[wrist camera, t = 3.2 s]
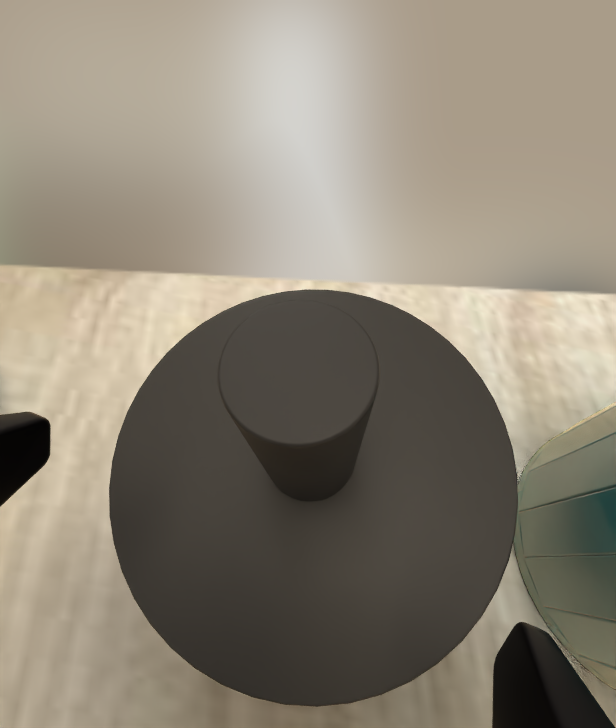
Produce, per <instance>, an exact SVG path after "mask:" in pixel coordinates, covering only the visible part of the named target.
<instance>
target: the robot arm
mask: <svg viewBox="0 0 616 728" xmlns="http://www.w3.org/2000/svg"><path fill="white" fill-rule="evenodd" d="M49 456H50V423H49V421H48V420H47V419H46V418H44V417H42V416H39V415H37V414H35V413H31V412H21V413H13V414H5V415H0V506H1V505H2V504H4V503H5V502H6V501H7V500H8V499H9V498H10V497H11V496H12V495H13V494H14V493H15V492H16V491H17V490H18V489H20V488H21V487H22V486H23V485H24V484H25V483H26V482H27V481H28V480H29V479H30V478H31V477H32V476H33V475H34V474H36V473H37V472H38V471H39V470H40V469H41V468H42V467H43V466H44V465H45V463H46V462H47V460H48V459H49ZM492 728H615V727H614V725H613V724H612V722H611V721H610V720H609V718H608V717H607V715H606V714H605V712H604V711H603V710H602V708H601V707H600V705H599V704H598V702H597V701H596V700H595V698H594V697H593V695H592V694H591V693H590V691H589V690H588V688H587V687H586V685H585V684H584V683H583V681H582V680H581V678H580V677H579V675H578V674H577V673H576V671H575V670H574V668H573V667H572V665H571V664H570V663H569V661H568V660H567V658H566V657H565V656H564V654H563V653H562V651H561V650H560V648H559V647H558V646H557V644H556V643H555V641H554V640H553V638H552V637H551V636H550V635H549V634H548V633H547V632H545V631H543V630H541V629H539V628H536V627H534V626H532V625H529V624H527V623H524V622H519V623H517V624H516V625H515V626H514V628H513V629H512V631H511V633H510V634H509V636H508V637H507V639H506V641H505V642H504V644H503V645H502V647H501V649H500V650H499V652H498V654H497V656H496V659H495V663H494V673H493V717H492Z"/></svg>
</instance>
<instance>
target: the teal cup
mask: <svg viewBox="0 0 616 728" xmlns="http://www.w3.org/2000/svg"><path fill="white" fill-rule="evenodd" d="M517 490H518V509H517V520H516V530H515V536H514V546H515V553H516V557H517V560H518V564H519V568H520V571H521V574H522V577H523V579H524V582H525V584H526V587H527V589H528V592H529V594H530V596H531V598H532V599H533V601H534V603H535V605H536V607H537V609H538V611H539V613H540V614H541V616H542V617H543V619H544V620H545V622H546V623H547V625H548V626H549V628H550V629H551V631H552V632H553V633H554V634H555V636H556V637H557V638H558V639H559V641H560V642H561V643H562V644H563V645H564V647H565V648H566V649H567V650H568V651H569V652H570V653H571V654H572V655H573V656H574V657H575V658H576V659H577V660H578V661H579V662H580V663H581V664H582V665H583V666H584V667H585V668H586V669H587V670H589V671H590V672H591V673H592V674H594V675H595V676H596V677H597V678H599V679H600V680H601V681H602V682H604V683H605V684H607V685H608V686H610V687H611V688H613V689H614V690H616V402H614V403H612V404H611V405H609V406H607V407H605V408H603V409H602V410H600V411H598V412H596V413H594V414H593V415H591V416H589V417H587V418H585V419H584V420H582V421H580V422H578V423H576V424H575V425H573V426H572V427H570V428H569V429H567V430H566V431H564V432H562V433H561V434H559V435H557V436H555V437H554V438H552V439H551V440H549V441H548V442H547V443H546V444H545V445H543V446H542V447H541V448H540V449H539V450H538V451H537V452H536V454H535V455H534V456H533V457H532V458H531V460H530V461H529V463H528V464H527V466H526V468H525V469H524V471H523V473H522V476H521V478H520V480H519V483H518V485H517Z"/></svg>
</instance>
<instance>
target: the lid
mask: <svg viewBox="0 0 616 728" xmlns="http://www.w3.org/2000/svg"><path fill="white" fill-rule="evenodd" d="M109 498H110V520H111V527H112V534H113V541H114V546H115V549H116V552H117V556H118V559H119V563H120V566H121V570H122V573H123V575H124V577H125V579H126V581H127V584H128V586H129V588H130V590H131V593H132V595H133V597H134V599H135V601H136V602H137V604H138V605H139V607H140V609H141V610H142V612H143V613H144V615H145V616H146V618H147V620H148V621H149V623H150V624H151V625H152V627H153V628H154V629H155V630H156V631H157V632H158V634H159V635H160V636H161V637H162V638H163V639H164V640H165V642H166V643H167V644H168V645H169V646H170V647H171V648H172V649H173V650H174V651H175V652H176V653H178V654H179V655H180V656H181V657H182V658H183V659H185V660H186V661H187V662H188V663H189V664H190V665H192V666H193V667H194V668H195V669H197V670H199V671H200V672H202V673H204V674H205V675H207V676H208V677H210V678H212V679H213V680H215V681H217V682H218V683H220V684H222V685H224V686H226V687H229V688H231V689H233V690H236V691H238V692H241V693H243V694H246V695H248V696H251V697H254V698H258V699H262V700H267V701H271V702H275V703H280V704H284V705H299V706H315V707H318V706H328V705H338V704H348V703H353V702H356V701H360V700H364V699H367V698H371V697H375V696H378V695H382V694H384V693H386V692H388V691H391V690H393V689H395V688H397V687H399V686H402V685H404V684H406V683H408V682H410V681H412V680H414V679H415V678H417V677H418V676H420V675H421V674H423V673H424V672H426V671H427V670H429V669H430V668H432V667H433V666H435V665H436V664H438V663H439V662H440V661H441V660H442V659H443V658H444V657H445V656H447V655H448V654H449V653H450V652H451V651H452V650H453V649H454V648H455V647H456V646H457V645H458V644H460V643H461V642H462V641H463V639H464V638H465V637H466V636H467V634H468V633H469V632H470V631H471V629H472V628H473V627H474V626H475V624H476V623H477V622H478V621H479V619H480V618H481V617H482V615H483V613H484V612H485V610H486V608H487V606H488V605H489V603H490V601H491V599H492V598H493V596H494V594H495V593H496V591H497V589H498V586H499V584H500V581H501V579H502V576H503V574H504V571H505V569H506V566H507V563H508V561H509V557H510V552H511V548H512V544H513V540H514V536H515V530H516V520H517V509H518V490H517V473H516V467H515V461H514V455H513V449H512V445H511V442H510V439H509V436H508V432H507V429H506V426H505V423H504V420H503V418H502V416H501V414H500V412H499V409H498V407H497V405H496V403H495V400H494V398H493V397H492V395H491V393H490V392H489V390H488V388H487V387H486V385H485V384H484V382H483V380H482V379H481V377H480V376H479V375H478V373H477V372H476V371H475V369H474V368H473V367H472V366H471V364H470V363H469V362H468V360H467V359H466V358H465V357H464V356H463V355H462V354H461V353H460V352H459V351H458V350H457V349H456V348H455V347H454V346H453V345H452V344H451V343H450V342H449V341H448V340H447V339H445V338H444V337H443V336H442V335H440V334H439V333H438V332H437V331H435V330H434V329H433V328H432V327H430V326H429V325H427V324H426V323H424V322H422V321H421V320H419V319H418V318H416V317H414V316H413V315H411V314H409V313H407V312H405V311H403V310H401V309H399V308H397V307H395V306H393V305H390V304H387V303H384V302H382V301H379V300H376V299H373V298H370V297H366V296H362V295H357V294H353V293H348V292H340V291H332V290H297V291H287V292H281V293H276V294H271V295H266V296H262V297H259V298H256V299H253V300H249V301H246V302H243V303H241V304H238V305H236V306H234V307H232V308H229V309H227V310H225V311H223V312H221V313H219V314H217V315H216V316H214V317H212V318H211V319H209V320H207V321H205V322H204V323H202V324H201V325H199V326H198V327H197V328H195V329H194V330H193V331H191V332H190V333H189V334H187V335H186V336H185V337H184V338H182V339H181V340H180V341H179V342H178V343H177V344H176V345H175V346H174V347H173V348H172V349H171V350H170V351H169V352H167V354H166V355H165V356H164V357H163V358H162V359H161V361H160V362H159V363H158V364H157V365H156V367H155V368H154V369H153V370H152V371H151V373H150V374H149V376H148V377H147V379H146V380H145V382H144V383H143V385H142V386H141V388H140V389H139V391H138V393H137V395H136V397H135V398H134V400H133V402H132V404H131V406H130V408H129V410H128V412H127V415H126V417H125V420H124V423H123V425H122V428H121V431H120V433H119V436H118V440H117V444H116V448H115V452H114V457H113V461H112V469H111V478H110V487H109Z"/></svg>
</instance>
